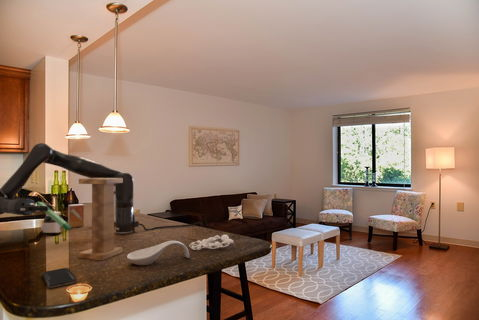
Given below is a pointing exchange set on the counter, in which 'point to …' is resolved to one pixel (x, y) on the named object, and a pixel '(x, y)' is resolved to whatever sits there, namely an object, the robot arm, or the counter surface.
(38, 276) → the counter surface
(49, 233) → the spread jar
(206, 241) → the tangled rod sculpture
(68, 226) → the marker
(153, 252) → the spoon rest
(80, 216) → the small box
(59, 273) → the phone
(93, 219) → the wooden pedestal stand
